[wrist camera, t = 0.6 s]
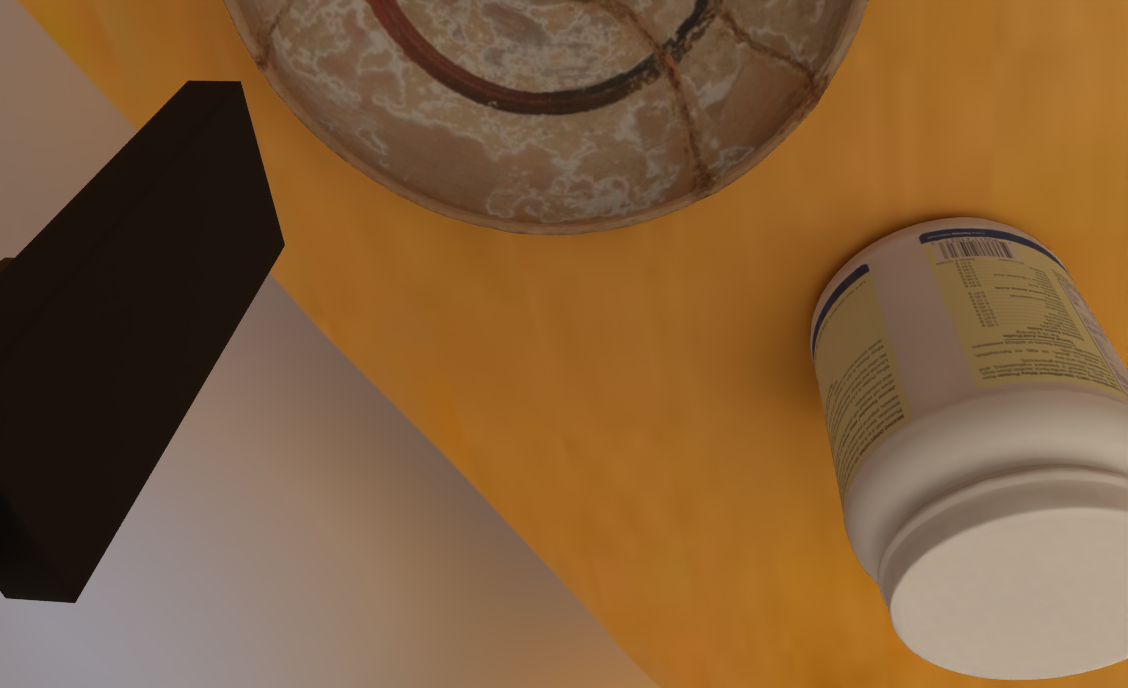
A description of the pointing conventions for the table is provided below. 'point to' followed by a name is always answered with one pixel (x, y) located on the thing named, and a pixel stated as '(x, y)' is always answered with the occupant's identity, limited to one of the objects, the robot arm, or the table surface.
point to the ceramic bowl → (550, 97)
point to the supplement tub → (979, 448)
